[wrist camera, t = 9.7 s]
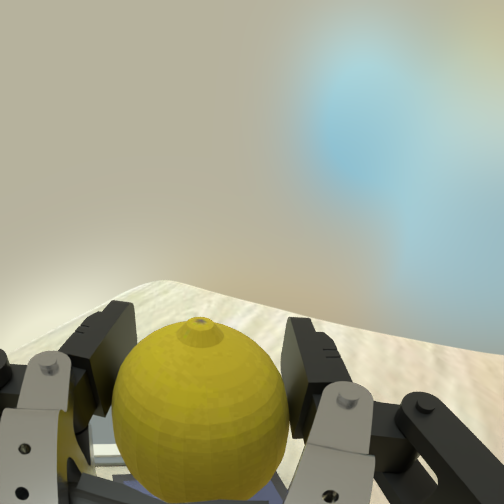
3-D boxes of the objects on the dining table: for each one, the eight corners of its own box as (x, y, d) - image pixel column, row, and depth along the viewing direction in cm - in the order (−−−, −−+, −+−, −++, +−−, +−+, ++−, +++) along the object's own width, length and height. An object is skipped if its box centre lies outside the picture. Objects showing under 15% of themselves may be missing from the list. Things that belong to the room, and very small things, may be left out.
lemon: (296, 481, 10) (350, 325, 8) (200, 562, 6) (181, 449, 4) (204, 419, 13) (209, 268, 11) (110, 469, 9) (60, 304, 7)
